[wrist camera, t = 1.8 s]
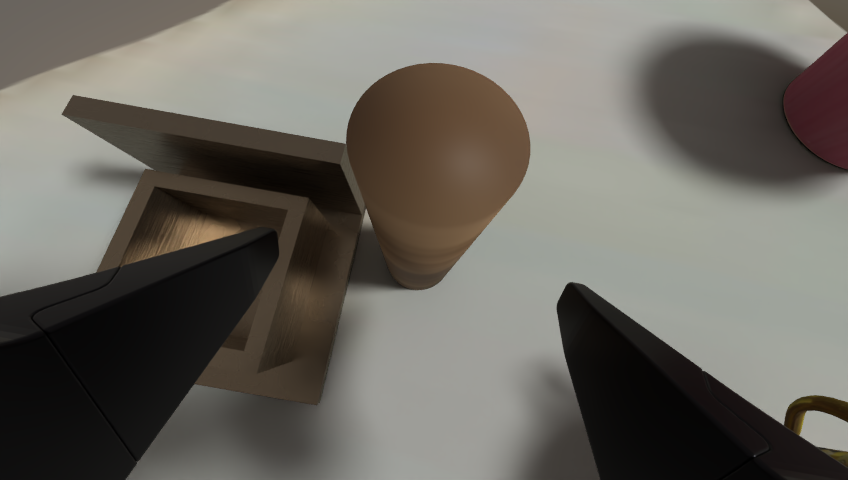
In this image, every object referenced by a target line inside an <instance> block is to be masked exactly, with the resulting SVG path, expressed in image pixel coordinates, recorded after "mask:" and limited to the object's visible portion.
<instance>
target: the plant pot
mask: <svg viewBox="0 0 848 480" xmlns="http://www.w3.org/2000/svg"><path fill="white" fill-rule="evenodd" d="M783 103H784V111H785V115H786V118H787V121H788V123H789V125H790V127H791V129H792V130H793V132H794V134H795V135H796V136H797V137H798V139H799V140H800V141H801V142H802V143H803V144H804V145H805V146H806V147H807V148H808V149H810V150H811V151H812V152H813V153H814V154H816V155H817V156H819V157H820V158H822V159H824V160H825V161H827V162H829V163H831V164H833V165H836V166H838V167H841V168H844V169H848V33H847V34H846V35H845V36H843V37H842V38H841V39H840V40H839V41H838V42H836V43H835V44H834V45H833V46H832V47H831V48H830V49H829V50H827V51H826V52H825V53H824V54H823V55H822V56H821V57H820V58H818V59H817V60H816V61H815V62H814V63H813V64H812V65H810V66H809V67H808V68H807V69H806V70H805V71H804V72H802V73H801V74H800V75H799V76H798V77H796V78H795V79H794V80H793V81H792V82H791V83H790V84H789V86H788V87H787V89H786V91H785V94H784V100H783Z"/></svg>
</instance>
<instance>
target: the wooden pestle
mask: <svg viewBox="0 0 848 480" xmlns="http://www.w3.org/2000/svg"><path fill="white" fill-rule="evenodd" d="M346 145H347V154H348V157H349V161H350V165H351V168H352V170H353V173H354V176H355V179H356V181H357V184H358V187H359V190H360V192H361V195H362V198H363V200H364V203H365V206H366V209H367V211H368V214H369V217H370V220H371V222H372V225H373V228H374V231H375V233H376V236H377V239H378V242H379V244H380V247H381V250H382V253H383V255H384V258H385V261H386V263H387V266H388V269H389V271H390V273H391V275H392V277H393V278H394V279H395V280H396V281H397V282H398V283H399V284H400V285H402V286H404V287H406V288H409V289H413V290H424V289H428V288H431V287H433V286H435V285H436V284H438V283H439V282H440V281H441V280H442V279H443V278H444V276H445V275H446V274H447V273H448V272H449V270H450V269H451V268H452V267H453V266H454V265H455V263H456V262H457V261H458V260H459V259H460V257H461V256H462V255H463V254H464V253H465V251H466V250H467V249H468V248H469V247H470V245H471V244H472V243H473V242H474V241H475V240H476V238H477V237H478V236H479V235H480V234H481V232H482V231H483V230H484V229H485V228H486V226H487V225H488V224H489V223H490V222H491V221H492V219H493V218H494V217H495V216H496V215H497V213H498V212H499V211H500V210H501V209H502V207H503V206H504V205H505V204H506V203H507V201H508V200H509V199H510V198H511V197H512V196H513V194H514V193H515V192H516V190H517V189H518V187H519V186H520V184H521V182H522V180H523V178H524V176H525V174H526V171H527V168H528V165H529V158H530V138H529V132H528V129H527V125H526V122H525V120H524V118H523V115H522V113H521V112H520V110H519V108H518V107H517V105H516V104H515V102H514V101H513V100H512V98H511V97H510V96H509V95H508V94H507V93H506V92H505V91H504V90H503V89H502V88H501V87H500V86H498V85H497V84H496V83H494V82H493V81H491V80H490V79H488V78H487V77H485V76H483V75H481V74H479V73H477V72H475V71H472V70H470V69H467V68H464V67H460V66H456V65H450V64H443V63H426V64H417V65H412V66H408V67H405V68H401V69H398V70H396V71H394V72H392V73H389V74H388V75H386V76H384V77H383V78H381V79H379V80H378V81H377V82H375V83H374V84H373V85H372V86H371V87H370V88H369V89H368V90H367V91H366V92H365V93H364V94H363V95H362V96H361V98H360V99H359V101H358V102H357V104H356V106H355V107H354V109H353V111H352V114H351V117H350V119H349V123H348V128H347V137H346Z"/></svg>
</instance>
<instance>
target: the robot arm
mask: <svg viewBox="0 0 848 480" xmlns="http://www.w3.org/2000/svg"><path fill="white" fill-rule="evenodd" d="M278 257H279V244H278V235H277V231H276V230H275V229H272V228H267V227H259V228H255V229H251V230H248V231H244V232H241V233H237V234H233V235H230V236H226V237H223V238H219V239H216V240H212V241H208V242H205V243H201V244H198V245H194V246H191V247H187V248H183V249H180V250H176V251H173V252H169V253H165V254H162V255H158V256H155V257H151V258H148V259H144V260H140V261H137V262H133V263H130V264H126V265H123V266H122V267H115V268H112V269H108V270H104V271H101V272H97V273H93V274H90V275H86V276H82V277H78V278H75V279H71V280H67V281H63V282H59V283H55V284H51V285H47V286H43V287H39V288H35V289H31V290H27V291H22V292H18V293H14V294H10V295H6V296H1V297H0V480H125V479H126V478H127V477H128V475H129V474H130V472H131V471H132V470H133V468H134V467H135V466H136V464H137V462H136V461H139V460H140V458H141V457H142V455H143V454H144V453H145V451H146V450H147V448H148V447H149V446H150V444H151V443H152V442H153V440H154V439H155V437H156V436H157V435H158V433H159V432H160V431H161V429H162V428H163V426H164V425H165V424H166V422H167V421H168V419H169V418H170V417H171V415H172V414H173V413H174V411H175V410H176V408H177V407H178V406H179V404H180V403H181V401H182V400H183V399H184V397H185V396H186V395H187V393H188V392H189V390H190V389H191V388H192V386H193V385H194V383H195V382H196V381H197V379H198V378H199V377H200V375H201V374H202V372H203V371H204V370H205V368H206V367H207V366H208V364H209V363H210V361H211V360H212V359H213V357H214V356H215V354H216V353H217V352H218V350H219V349H220V348H221V346H222V345H223V343H224V342H225V341H226V339H227V338H228V336H229V335H230V334H231V332H232V331H233V330H234V328H235V327H236V325H237V324H238V323H239V321H240V320H241V318H242V317H243V316H244V314H245V313H246V312H247V310H248V309H249V307H250V306H251V305H252V303H253V302H254V300H255V299H256V297H257V295H258V294H259V292H260V290H261V289H262V287H263V285H264V283H265V281H266V280H267V278H268V276H269V274H270V273H271V271H272V269H273V267H274V265H275V264H276V262H277V260H278ZM557 314H558V320H559V326H560V332H561V338H562V344H563V349H564V354H565V358H566V362H567V365H568V369H569V372H570V376H571V379H572V383H573V386H574V390H575V393H576V397H577V400H578V404H579V407H580V411H581V414H582V418H583V421H584V425H585V428H586V432H587V435H588V438H589V442H590V445H591V449H592V452H593V456H594V459H595V463H596V466H597V470H598V473H599V477H600V480H848V467H846V466H845V465H843V464H842V463H840V462H838V461H837V460H835V459H834V458H832V457H831V456H829V455H828V454H826V453H825V452H823V451H822V450H820V449H819V448H817V447H816V446H814V445H813V444H811V443H810V442H808V441H807V440H805V439H804V438H802V437H801V436H799V435H798V434H796V433H795V432H793V431H791V430H790V429H788V428H787V427H785V426H784V425H782V424H781V423H779V422H778V421H776V420H775V419H773V418H772V417H770V416H769V415H767V414H766V413H764V412H763V411H761V410H760V409H758V408H757V407H756V406H754V405H753V404H751V403H750V402H748V401H747V400H745V399H744V398H742V397H741V396H739V395H738V394H737V393H735V392H734V391H732V390H731V389H729V388H728V387H727V386H725V385H724V384H722V383H721V382H719V381H718V380H717V379H715V378H714V377H712V376H711V375H710V374H708V373H707V372H705V371H702V369H701V368H700V367H698V366H697V365H696V364H694V363H693V362H691V361H690V360H689V359H687V358H686V357H684V356H683V355H682V354H680V353H679V352H677V351H676V350H675V349H673V348H672V347H670V346H669V345H668V344H666V343H665V342H663V341H662V340H661V339H659V338H658V337H656V336H655V335H654V334H652V333H651V332H649V331H648V330H647V329H645V328H644V327H642V326H641V325H640V324H638V323H637V322H635V321H634V320H633V319H631V318H630V317H628V316H627V315H626V314H624V313H623V312H621V311H620V310H619V309H617V308H616V307H614V306H613V305H612V304H610V303H609V302H607V301H606V300H605V299H603V298H602V297H600V296H599V295H598V294H596V293H595V292H593V291H592V290H591V289H589V288H588V287H586V286H585V285H583V284H579V283H573V282H570V283H568V284H567V285H566V287H565V289H564V291H563V293H562V294H561V296H560V298H559V300H558V303H557Z"/></svg>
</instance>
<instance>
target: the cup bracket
mask: <svg viewBox="0 0 848 480" xmlns="http://www.w3.org/2000/svg"><path fill="white" fill-rule="evenodd" d="M62 115H63V116H65V117H67V118H68V119H70V120H72V121H74V122H75V123H77V124H79V125H80V126H82V127H84V128H85V129H87V130H89V131H90V132H92V133H94V134H95V135H97V136H99V137H100V138H102V139H104V140H105V141H107V142H109V143H110V144H112V145H114V146H115V147H117V148H119V149H120V150H122V151H124V152H125V153H127V154H129V155H131V156H132V157H134V158H136V159H137V160H139V161H141V162H142V163H144V164H146V165H147V166H149V167H151V168H152V169H154V170H149V169H145V170H144V172H143V174H142V177H141V179H140V181H139V183H138V185H137V187H136V189H135V191H134V194H133V196H132V198H131V200H130V202H129V204H128V206H127V208H126V211H125V213H124V215H123V217H122V219H121V221H120V223H119V225H118V228H117V230H116V232H115V234H114V236H113V238H112V240H111V242H110V245H109V247H108V249H107V251H106V253H105V255H104V257H103V259H102V262H101V264H100V266H99V268H98V270H97V272H101V271H104V270H108V269H112V268H115V267H122V266H123V265H126V264H130V263H133V262H137V261H140V260H144V259H148V258H151V257H155V256H158V255H162V254H165V253H169V252H173V251H176V250H180V249H183V248H187V247H191V246H194V245H198V244H201V243H205V242H208V241H212V240H216V239H219V238H223V237H226V236H230V235H233V234H237V233H241V232H244V231H248V230H251V229H255V228H259V227H267V228H272V229H275V230H276V231H277V235H278V244H279V257H278V260H277V262H276V264H275V265H274V267H273V269H272V271H271V273H270V274H269V276H268V278H267V280H266V281H265V283H264V285H263V287H262V289H261V290H260V292H259V294H258V295H257V297H256V299H255V300H254V302H253V303H252V305H251V306H250V307H249V309H248V310H247V312H246V313H245V314H244V316H243V317H242V318H241V320H240V321H239V323H238V324H237V325H236V327H235V328H234V330H233V331H232V332H231V334H230V335H229V336H228V338H227V339H226V341H225V342H224V343H223V345H222V346H221V348H220V349H219V350H218V352H217V353H216V354H215V356H214V357H213V359H212V360H211V361H210V363H209V364H208V366H207V367H206V368H205V370H204V371H203V372H202V374H201V375H200V377H199V378H198V379H197V381H196V382H195V383H194V384H197V385H203V386H208V387H214V388H220V389H226V390H232V391H238V392H243V393H249V394H255V395H261V396H267V397H272V398H278V399H284V400H290V401H296V402H301V403H307V404H313V405H317V404H318V403H320V400H321V395H322V391H323V387H324V383H325V379H326V374H327V370H328V366H329V362H330V357H331V353H332V349H333V345H334V341H335V336H336V332H337V328H338V324H339V319H340V315H341V311H342V307H343V303H344V298H345V294H346V290H347V286H348V281H349V277H350V273H351V269H352V265H353V260H354V256H355V252H356V248H357V243H358V239H359V235H360V231H361V227H362V222H363V218H364V214H365V210H366V206H365V203H364V200H363V198H362V195H361V192H360V190H359V187H358V184H357V181H356V179H355V176H354V173H353V170H352V168H351V165H350V161H349V157H348V154H347V146H346V144H343V143H338V142H332V141H327V140H321V139H315V138H310V137H304V136H299V135H293V134H287V133H282V132H276V131H271V130H265V129H259V128H254V127H248V126H243V125H237V124H232V123H226V122H220V121H215V120H209V119H204V118H198V117H192V116H187V115H181V114H176V113H170V112H164V111H159V110H153V109H148V108H142V107H136V106H131V105H125V104H120V103H114V102H109V101H103V100H97V99H92V98H86V97H81V96H75V95H73V96H72V98H71V99H70V101H69V103H68V104H67V106H66V108H65V109H64V111H63V113H62ZM155 170H156V171H155ZM97 272H96V273H97Z"/></svg>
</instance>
